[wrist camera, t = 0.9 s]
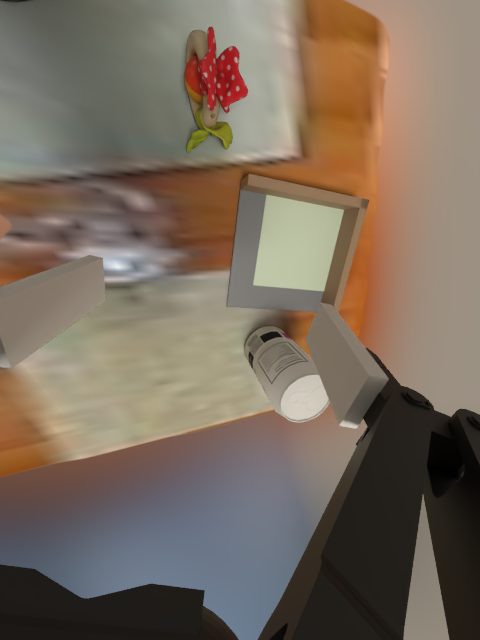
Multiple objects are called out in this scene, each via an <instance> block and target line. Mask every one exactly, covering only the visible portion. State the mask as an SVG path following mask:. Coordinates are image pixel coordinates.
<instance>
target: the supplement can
mask: <svg viewBox="0 0 480 640" xmlns="http://www.w3.org/2000/svg"><path fill="white" fill-rule="evenodd" d="M245 356H246V358H247V360H248V362H249V363H250V365H251V367H252V369H253V371H254V373H255V374H256V376H257V378H258V380H259V382H260V384H261V385H262V387H263V389H264V391H265V393H266V395H267V397H268V398H269V400H270V402H271V404H272V406H273V407H274V409H275V411H276V412H277V413H279V414H280V415H282V416H284V417H286V418H287V419H288V420H290V421H293V422H306V421H309V420H311V419H314V418H316V417H317V416H318V415H319V414H321V413H322V412H323V411H324V410H325V409H326V408H327V406H328V405H329V403H330V401H329V398H328V396H327V393H326V391H325V388H324V386H323V383H322V381H321V378H320V375H319V373H318V370H317V368H316V365H315V363H314V360H313V359H312V358H311V357H310V356H309V355H308V354H307V353H306V352H305V351H304V350H303V349H302V348H301V347H300V346H298V345H297V344H296V343H295V342H294V341H293V340H292V339H291V338H290V337H289V336H288V335H287V334H286V333H285V332H284V331H282V330H281V329H280V328H277V327H275V326H265V327H262V328H260V329H257V330H256V331H255V332H254V333H252V334H251V335H250V337H249V338H248V340H247V342H246V345H245Z"/></svg>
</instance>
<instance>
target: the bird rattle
mask: <svg viewBox="0 0 480 640" xmlns="http://www.w3.org/2000/svg"><path fill="white" fill-rule="evenodd" d="M238 64H239V52H238V50H237V48H236V47H234V46H231V47H229V48H227V49H226V50H224V51H223V52H222V53H221V55H220V56H219V57H218V59H217V58H216V42H215V36H214V30H213V27H209V28H208V33H207V34H206V33H205V32H204V31H202V30H195V31H192V32H191V33H190V35H189V37H188V40H187V46H186V68H185V85H186V89H187V92H188V94H189V99H190V103H191V107H192V111H193V114H194V116H195V119H196V123H197V125H198V126H199V128H200V129H201V130H196V131H194V132H193V133H192V135H191V136H192V137H191V139H190V141H189V143H188V146H187V152H190V151H191V149H194V148H195V147H196V146H198V145H199V144H200V143H201V142H203V141H204V140H205V139H206V138H207V137H208V135H209V134H210V135H211V136H215V135H216V136H217V137H219V138H221V139H222V140H223V146H224V148H225V149H228V148H229V144H231V143H232V139H233V136H232V130H231V128H230V126H229V124H228V123H226V122H216V121H217V118H218V113H219V106H220V104H221V106H222V108H223V110H224V111H225V112H226V113H228V112H229V105H230V104H231V103H234V102H236V101H238V100H240V99H243V98H244V97H246V96H247V94H248V89H247V87H246V85H245V83H244V81H243V79H242V77H241V75H240V73H239V69H238Z"/></svg>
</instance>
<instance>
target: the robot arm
mask: <svg viewBox="0 0 480 640" xmlns="http://www.w3.org/2000/svg"><path fill="white" fill-rule="evenodd" d="M4 1H25V0H4ZM105 301H106V297H105V283H104V270H103V258H100V257H95V256H91V255H88V256H86V257H83V258H80V259H77V260H74V261H72V262H69V263H66V264H63V265H60V266H57V267H55V268H52V269H49V270H46V271H43V272H41V273H38V274H35V275H32V276H29V277H27V278H24V279H21V280H18V281H15V282H12V283H10V284H7V285H4V286H1V287H0V367H4V368H10V369H11V368H13V367H14V366H15V365H17V364H18V363H20V362H21V361H22V360H24V359H25V358H27V357H28V356H29V355H31V354H32V353H34V352H35V351H36V350H38V349H39V348H41V347H42V346H43V345H45V344H46V343H48V342H49V341H50V340H52V339H53V338H55V337H56V336H57V335H59V334H60V333H62V332H63V331H64V330H66V329H67V328H69V327H70V326H71V325H73V324H74V323H76V322H77V321H78V320H80V319H81V318H83V317H84V316H85V315H87V314H88V313H90V312H91V311H92V310H94V309H95V308H97V307H98V306H99V305H101V304H102V303H104V302H105ZM306 342H307V345H308V347H309V350H310V352H311V355H312V358H313V360H314V363H315V365H316V368H317V370H318V373H319V375H320V378H321V381H322V383H323V386H324V388H325V391H326V393H327V396H328V398H329V401H330V404H331V406H332V408H333V411H334V414H335V416H336V419H337V421H338V424H339V426H344V427H350V428H357V427H358V426H359V424H360V423H361V421H362V420H363V419H364V420H365V422H366V424H367V426H368V427H367V429H366V430H365V432H364V433H363V435H362V436H361V437H360V439H359V440H358V442H357V443H356V445H357V447H356V449H355V451H354V454H353V456H352V457H351V459H350V461H349V463H348V465H347V467H346V469H345V472H344V473H343V475H342V477H341V479H340V482H339V484H338V485H337V487H336V490H335V492H334V493H333V496H332V498H331V499H330V501H329V504H328V505H327V507H326V509H325V512H324V513H323V515H322V517H321V520H320V522H319V524H318V526H317V528H316V530H315V532H314V534H313V536H312V538H311V540H310V542H309V544H308V546H307V548H306V550H305V552H304V554H303V556H302V558H301V560H300V562H299V564H298V566H297V568H296V570H295V572H294V574H293V576H292V578H291V580H290V582H289V584H288V586H287V588H286V590H285V592H284V594H283V596H282V598H281V600H280V601H279V603H278V605H277V607H276V608H275V610H274V612H273V613H272V615H271V617H270V619H269V620H268V622H267V624H266V625H265V627H264V629H263V631H262V633H261V634H260V636H259V638H258V640H403V636H404V625H405V618H406V610H407V602H408V596H409V589H410V582H411V575H412V567H413V560H414V553H415V546H416V539H417V531H418V524H419V516H420V510H421V503H422V495H423V494H424V501H425V506H426V511H427V517H428V523H429V528H430V534H431V539H432V545H433V551H434V556H435V561H436V567H437V572H438V578H439V584H440V589H441V595H442V600H443V606H444V611H445V617H446V622H447V628H448V633H449V639H450V640H480V415H479V414H477V413H475V412H472V411H469V410H466V409H459V410H457V411H456V412H455V414H454V415H453V416H452V417H450V416H447V415H445V414H442V413H440V412H437V411H435V410H434V408H433V405H432V404H431V403H430V402H429V400H427V399H426V398H425V397H424V396H423V395H421V394H420V393H418V392H416V391H414V390H412V389H410V388H408V387H404V386H401V385H400V384H399V383H398V381H397V380H396V379H395V378H394V377H393V375H392V374H391V373H390V371H389V370H388V369H386V367H385V365H384V364H383V363H382V362H381V360H380V359H379V358H378V357H377V355H376V354H374V353H373V352H372V351H370V350H369V349H368V348H365V347H364V346H363V345H362V343H361V342H360V340H359V339H358V338H357V337H356V335H355V334H354V333H353V331H352V330H351V329H350V327H349V326H348V325H347V324H346V322H345V321H344V320H343V318H342V317H341V316H340V314H339V313H338V312H337V311H336V309H335V308H334V307H333V305H330V304H325V303H321V302H320V304H319V307H318V309H317V312H316V314H315V317H314V319H313V322H312V324H311V327H310V330H309V332H308V335H307V337H306ZM203 599H204V590H196V589H189V588H180V587H172V586H165V585H156V584H148V585H144V586H140V587H135V588H131V589H127V590H123V591H119V592H115V593H111V594H106V595H102V596H98V597H94V598H89V599H84V598H81V597H79V596H77V595H75V594H74V593H72V592H71V591H69V590H67V589H66V588H64V587H63V586H61V585H59V584H58V583H56V582H55V581H53V580H51V579H50V578H48V577H47V576H45V575H43V574H42V573H40V572H39V571H37V570H35V569H29V568H22V567H14V566H5V565H0V640H238V638H237V636H236V635H235V634H234V633H233V631H232V630H231V629H230V628H229V627H228V626H227V624H226V623H225V622H224V621H223V620H222V619H221V618H219V617H218V616H217V615H216V614H215V613H214V612H212V611H211V610H209V609H207V608H206V607H204V606H203Z"/></svg>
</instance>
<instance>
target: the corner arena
mask: <svg viewBox="0 0 480 640" xmlns="http://www.w3.org/2000/svg"><path fill="white" fill-rule="evenodd" d="M368 203H369V200H367V199H362V198H358V197H353V196H349V195H344V194H339V193H335V192H330V191H326V190H321V189H317V188H312V187H308V186H303V185H298V184H294V183H289V182H285V181H280V180H276V179H271V178H267V177H262V176H257V175H253V174H248V175H247V176H246V177H244V178H243V179H242V180H241V185H240V193H239V202H238V211H237V219H236V228H235V237H234V245H233V254H232V263H231V271H230V280H229V289H228V298H227V307H242V308H259V309H276V310H293V311H310V312H317V309H318V307H319V304H320V302H321V303H325V304H330V305H333V307H334V308H335V309H336V311H337V312H339V308H340V305H341V301H342V297H343V294H344V290H345V286H346V283H347V279H348V276H349V272H350V268H351V265H352V261H353V257H354V254H355V250H356V246H357V243H358V239H359V236H360V232H361V228H362V225H363V221H364V217H365V214H366V210H367V206H368Z"/></svg>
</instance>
